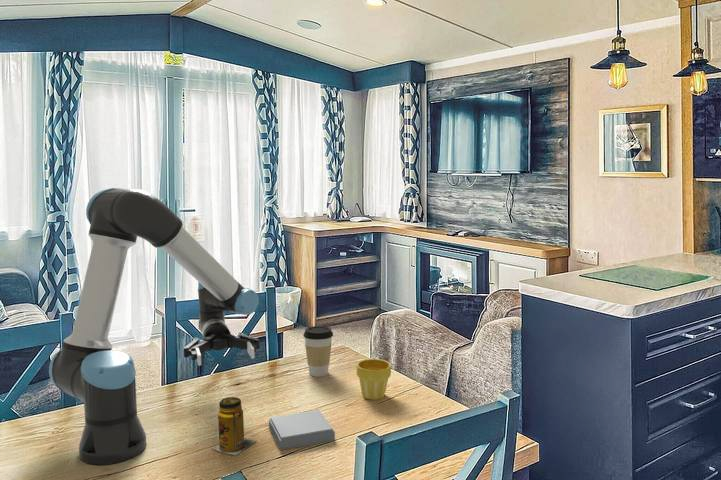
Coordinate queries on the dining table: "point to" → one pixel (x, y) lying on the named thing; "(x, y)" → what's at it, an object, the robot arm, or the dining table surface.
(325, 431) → the grey square coaster
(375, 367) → the plant pot
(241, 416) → the condiment
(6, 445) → the dining table surface
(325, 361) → the coffee cup
